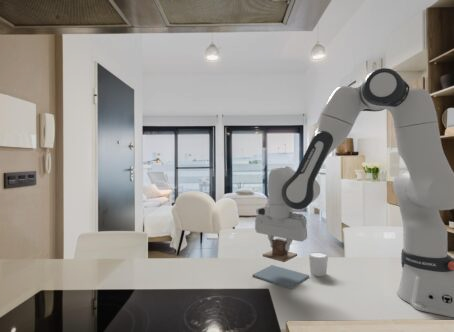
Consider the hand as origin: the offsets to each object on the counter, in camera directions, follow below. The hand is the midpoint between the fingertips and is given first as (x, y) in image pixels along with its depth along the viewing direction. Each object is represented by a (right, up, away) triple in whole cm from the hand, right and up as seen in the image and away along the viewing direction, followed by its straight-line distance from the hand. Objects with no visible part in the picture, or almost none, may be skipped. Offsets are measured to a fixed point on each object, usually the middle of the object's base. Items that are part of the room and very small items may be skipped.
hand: (279, 248), depth 106 cm
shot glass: (+15, -10, +3) cm, 18 cm away
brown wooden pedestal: (0, -3, 0) cm, 3 cm away
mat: (0, -10, 0) cm, 10 cm away
